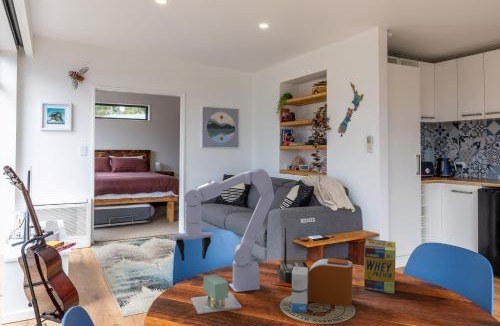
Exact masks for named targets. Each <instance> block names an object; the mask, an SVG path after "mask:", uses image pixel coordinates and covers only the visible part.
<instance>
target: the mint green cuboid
mask: <svg viewBox="0 0 500 326" xmlns="http://www.w3.org/2000/svg"><path fill="white" fill-rule="evenodd" d="M203 292H204V294H206V295H207V294H208V295H209V296H210V297H211V298H212V299H214V300H220V299H224V298H228V293H229V281H227V280H226V279H224V278H223V277H222V276H220V275H218V274H209V275H204V276H203Z"/></svg>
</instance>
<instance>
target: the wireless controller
mask: <svg viewBox="0 0 500 326" xmlns="http://www.w3.org/2000/svg"><path fill="white" fill-rule="evenodd" d="M283 243H284V244H283V245H284V246H283V260H280V261H279V262H280V264H279V266H280V267H279V269H276V274H277V276H278V279H279V283H292V271H293V268H294V267H307V268H308V272H309V270H310V268H309V266H308V264H307V262H306V261H305V260H288V259H287V258H288V257H287V255H288V254H287V252H288V251H287V249H288V247H287V246H288V245H287V227H285V228H284V242H283Z"/></svg>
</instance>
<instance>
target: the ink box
mask: <svg viewBox="0 0 500 326" xmlns="http://www.w3.org/2000/svg"><path fill="white" fill-rule="evenodd" d="M308 304H309V302H308V268H307V267H294V268H293V271H292V282H291V311H292V312H295V313H296V312H298V313H308Z"/></svg>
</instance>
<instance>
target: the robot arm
mask: <svg viewBox="0 0 500 326" xmlns="http://www.w3.org/2000/svg"><path fill="white" fill-rule="evenodd" d="M272 182H273V180H272V178H271V176H270V175H269V173H268V172H267V171H266V170H265V169H264V168H256V169H254V170H248V171H243V172H241V173H238V174H236V175H234V176H232V177H230V178H227V179H225V180H222V181H220V182H218V181H216V180H209V181H207V183H205V184H203V185H200V186H199V185H196V186H195V188H191V189H190V190H188V191H186V193H185V195H184V202H185V222H184V223H185V233H179V234H173V235H172V241H173V242H175V243H176V245H177V247H178V250H179V253H180V259H181V262H184V261H185V241H189V240H192V241H194V240H201V245H202V247H201V249H202V250H201V258H202V259H203V260H205V259H206V255H207V251H208V250H209V247H210V244H211V243H212V239H214V232H211V231H210V232H207V231H206V232H203V231H202V202H206V201H209V200H211V199H214V198H216V197H219V196H221V194H222V192H223V191H225V190H227V189H230V188H232V187H236V186H238V185H241V184H243V185H244V184H246V185H251V183H252V185H253V186H254V187H255V188H256V189H257V191H258V194H259V195H260V197H259V199H258V200H257V201H258V202H257V204H256V207H255V209H254V211H253V214H252V216H251V218H250V219H249V223H248V225H247V226H246V229H245V232H244V234H243V236H242V238H241V239H240V241H239V242H238V243H237V244H236V245H235V247H234V254H233V261H232V282H231V283H228V286H229V287H230V288H231V289H232V290H233V291H234V292H235V293H238V292H239V293H240V292H246V291H247V292H249V291H256V290H260V289H261V286H260V267H259V266H260V265H259V264H258V263H257V262H256V261H253V260H252V252H253V250H254V246H255V242H256V240H257V238H258V236H259V233H260V231H261V228H262V226H263V224H264V222H265V219H266V217H267V215H268V212H269V211H270V208H271V205H272V203H273V201H274V200H275V199H274V198H275V193H274V188H273V183H272Z"/></svg>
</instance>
